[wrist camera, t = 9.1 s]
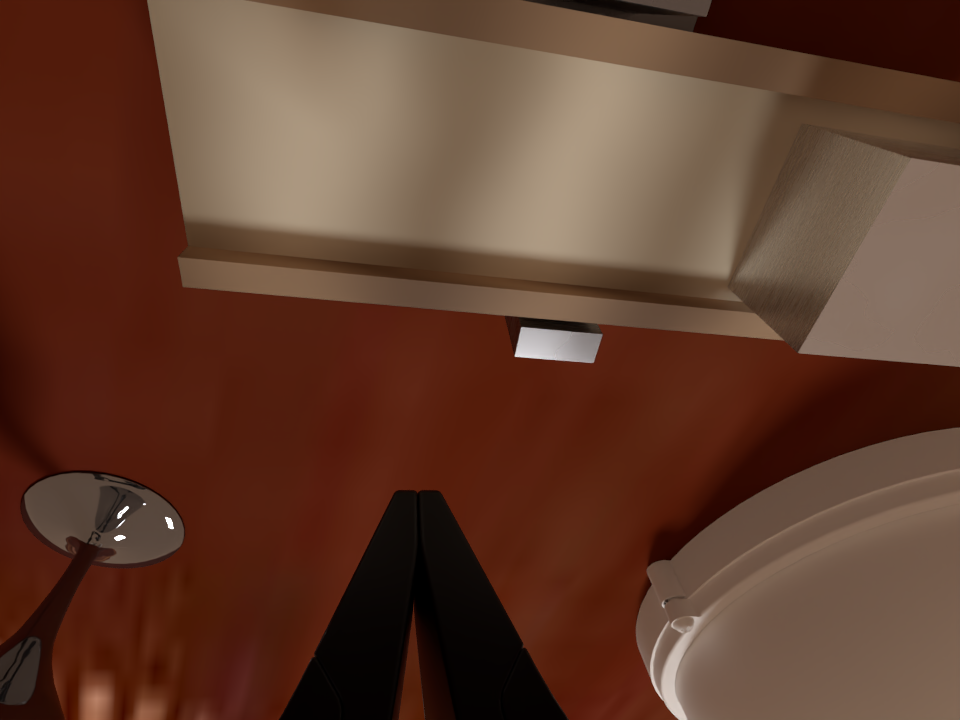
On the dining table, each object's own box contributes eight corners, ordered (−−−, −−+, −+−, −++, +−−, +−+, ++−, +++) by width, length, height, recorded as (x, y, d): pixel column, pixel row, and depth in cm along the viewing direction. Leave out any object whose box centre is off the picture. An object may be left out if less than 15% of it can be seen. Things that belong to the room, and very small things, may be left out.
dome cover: (554, 682, 39) (606, 965, 28) (799, 366, 24) (1148, 708, 12) (880, 703, 47) (1029, 933, 35) (1228, 474, 31) (1695, 749, 20)
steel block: (727, 287, 15) (797, 352, 12) (801, 123, 13) (911, 158, 10) (902, 305, 16) (1004, 370, 13) (1002, 156, 14) (1154, 196, 11)
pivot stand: (445, 286, 20) (450, 369, 15) (492, -90, 14) (523, -137, 9) (596, 301, 21) (643, 384, 16) (702, -46, 15) (824, -68, 10)
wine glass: (212, 497, 25) (3, 977, 13) (172, 586, 29) (-22, 1028, 16) (20, 442, 22) (-486, 988, 10) (2, 548, 26) (-388, 1047, 13)
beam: (221, 241, 16) (182, 286, 13) (182, -59, 12) (117, -76, 9) (907, 311, 19) (979, 357, 17) (1050, 103, 15) (1172, 122, 13)
